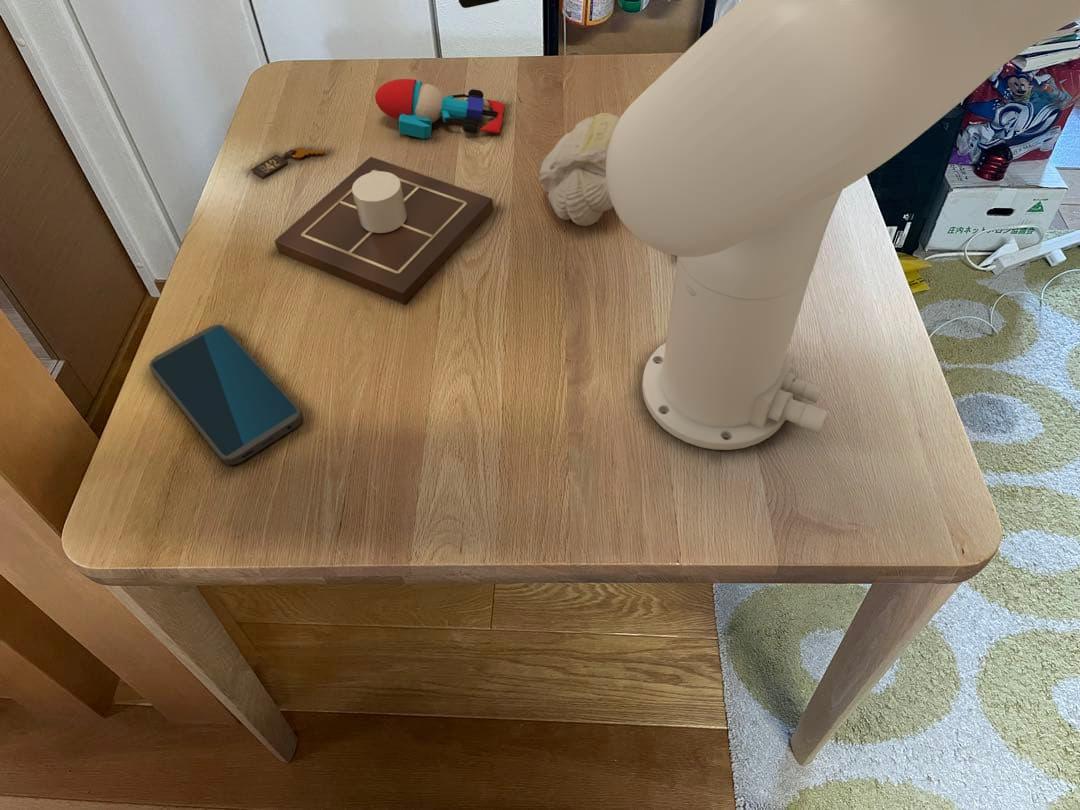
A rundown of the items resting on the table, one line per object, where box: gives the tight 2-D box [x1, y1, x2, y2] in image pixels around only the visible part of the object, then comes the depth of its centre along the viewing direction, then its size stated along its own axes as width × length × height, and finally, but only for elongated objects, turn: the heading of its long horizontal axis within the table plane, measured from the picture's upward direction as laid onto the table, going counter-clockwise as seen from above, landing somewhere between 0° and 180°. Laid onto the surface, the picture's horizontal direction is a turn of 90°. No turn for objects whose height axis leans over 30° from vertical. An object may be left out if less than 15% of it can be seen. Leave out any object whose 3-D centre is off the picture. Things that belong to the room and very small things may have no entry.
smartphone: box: [149, 324, 304, 466], centre depth 72 cm, size 8×15×1 cm, turn 42°
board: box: [274, 156, 495, 305], centre depth 85 cm, size 16×16×2 cm
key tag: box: [250, 147, 326, 179], centre depth 93 cm, size 8×3×1 cm, turn 124°
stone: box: [352, 171, 407, 233], centre depth 83 cm, size 5×5×4 cm
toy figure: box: [374, 78, 506, 140], centre depth 96 cm, size 8×5×15 cm
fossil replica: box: [538, 112, 621, 227], centre depth 84 cm, size 12×8×10 cm
